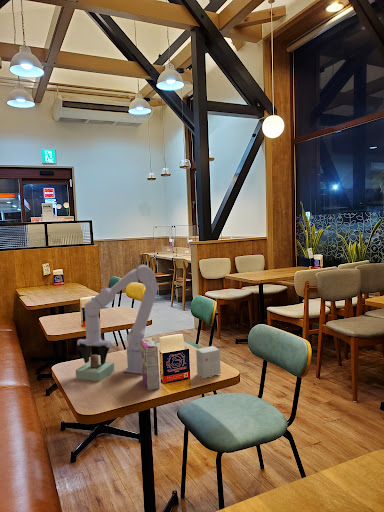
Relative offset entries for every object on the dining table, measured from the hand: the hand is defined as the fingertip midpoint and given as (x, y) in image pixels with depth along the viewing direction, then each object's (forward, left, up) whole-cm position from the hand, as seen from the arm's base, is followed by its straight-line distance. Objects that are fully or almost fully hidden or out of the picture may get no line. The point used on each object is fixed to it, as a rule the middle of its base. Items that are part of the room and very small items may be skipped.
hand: (95, 363), depth 154 cm
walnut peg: (0, 0, -5) cm, 5 cm away
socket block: (0, 0, -5) cm, 5 cm away
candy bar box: (-26, +3, -5) cm, 27 cm away
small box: (-45, -11, -5) cm, 47 cm away
